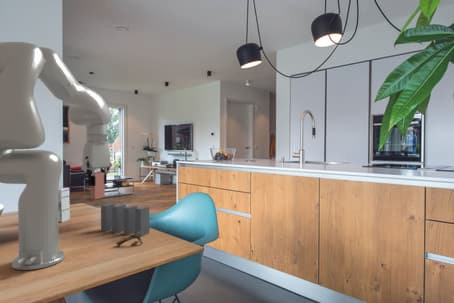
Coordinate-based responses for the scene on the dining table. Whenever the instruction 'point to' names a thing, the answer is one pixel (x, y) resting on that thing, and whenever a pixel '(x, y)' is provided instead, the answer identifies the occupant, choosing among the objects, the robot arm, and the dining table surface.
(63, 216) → the syrup box
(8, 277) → the dining table surface
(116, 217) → the domino
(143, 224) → the domino
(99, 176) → the domino
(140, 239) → the wooden post with brackets
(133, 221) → the domino
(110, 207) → the domino
